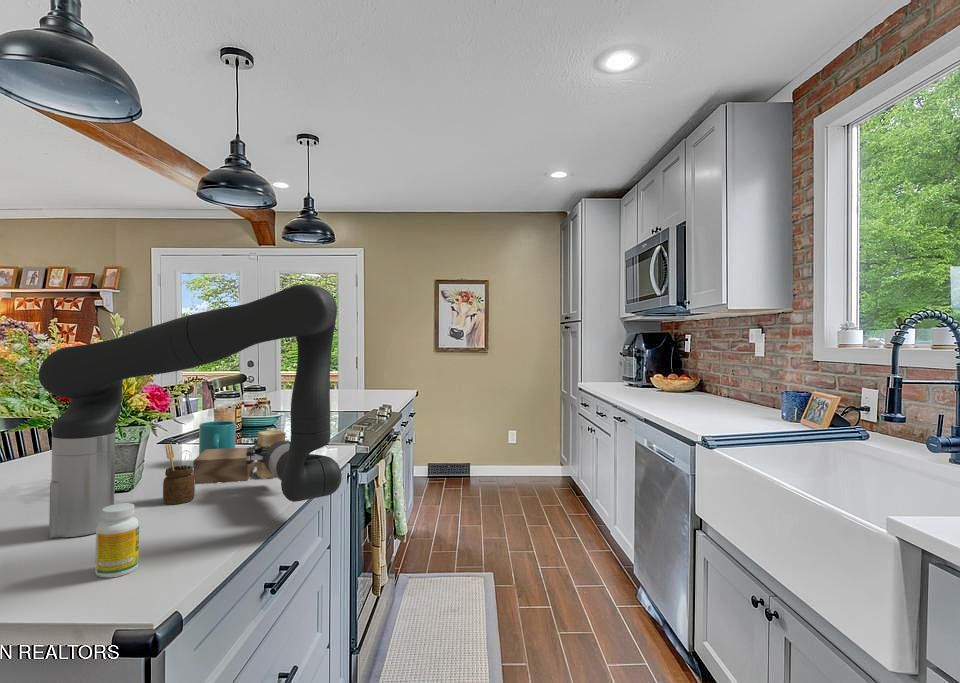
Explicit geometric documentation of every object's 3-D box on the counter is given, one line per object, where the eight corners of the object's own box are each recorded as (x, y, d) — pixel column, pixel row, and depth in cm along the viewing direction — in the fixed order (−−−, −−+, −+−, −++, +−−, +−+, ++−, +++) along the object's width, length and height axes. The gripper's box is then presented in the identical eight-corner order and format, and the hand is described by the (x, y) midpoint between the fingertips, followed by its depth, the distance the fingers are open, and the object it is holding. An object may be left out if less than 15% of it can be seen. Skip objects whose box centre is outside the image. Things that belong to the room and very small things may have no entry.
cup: (196, 471, 138) (196, 428, 138) (200, 461, 149) (201, 421, 149) (234, 468, 142) (234, 426, 142) (235, 458, 153) (236, 420, 153)
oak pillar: (261, 479, 120) (262, 435, 120) (256, 474, 124) (257, 431, 124) (284, 476, 122) (285, 433, 123) (278, 471, 127) (279, 430, 127)
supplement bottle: (91, 570, 79) (92, 506, 79) (133, 560, 83) (134, 499, 83) (100, 582, 75) (101, 515, 75) (143, 570, 79) (144, 507, 79)
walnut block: (193, 485, 126) (193, 460, 126) (205, 472, 138) (205, 449, 138) (247, 482, 129) (247, 457, 129) (254, 469, 142) (254, 447, 142)
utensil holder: (177, 506, 109) (178, 448, 109) (155, 502, 111) (155, 446, 111) (201, 498, 115) (201, 443, 115) (179, 495, 117) (179, 441, 117)
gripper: (321, 441, 115) (299, 429, 129) (252, 446, 107) (236, 433, 121) (320, 475, 115) (298, 460, 129) (251, 483, 107) (235, 466, 121)
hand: (268, 447), depth 125 cm, fingers closed on oak pillar, 5 cm apart
